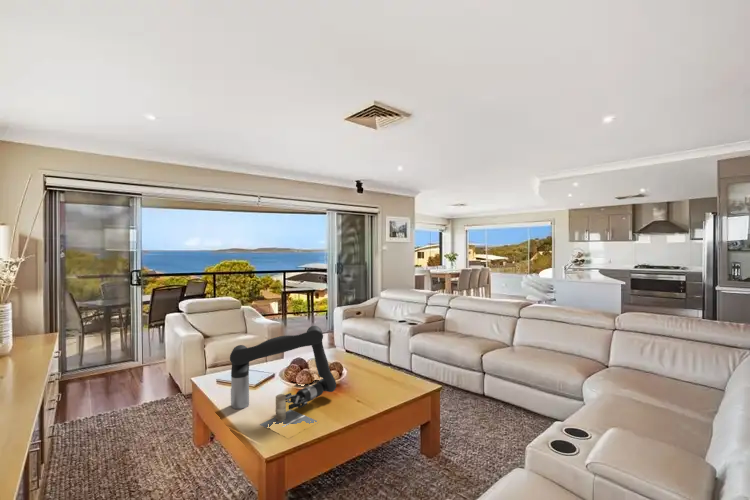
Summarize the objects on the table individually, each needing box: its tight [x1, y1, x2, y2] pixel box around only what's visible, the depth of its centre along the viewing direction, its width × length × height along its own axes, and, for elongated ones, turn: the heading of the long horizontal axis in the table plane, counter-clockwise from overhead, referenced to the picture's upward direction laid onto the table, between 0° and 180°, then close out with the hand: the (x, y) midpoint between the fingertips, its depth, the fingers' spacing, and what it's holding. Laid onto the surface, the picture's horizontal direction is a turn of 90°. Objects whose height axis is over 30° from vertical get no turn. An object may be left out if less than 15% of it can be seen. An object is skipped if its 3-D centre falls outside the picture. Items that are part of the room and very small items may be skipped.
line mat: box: [259, 409, 318, 429], centre depth 188 cm, size 22×20×1 cm
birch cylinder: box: [275, 393, 287, 422], centre depth 192 cm, size 5×5×12 cm
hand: (283, 405), depth 194 cm, fingers open, 8 cm apart
